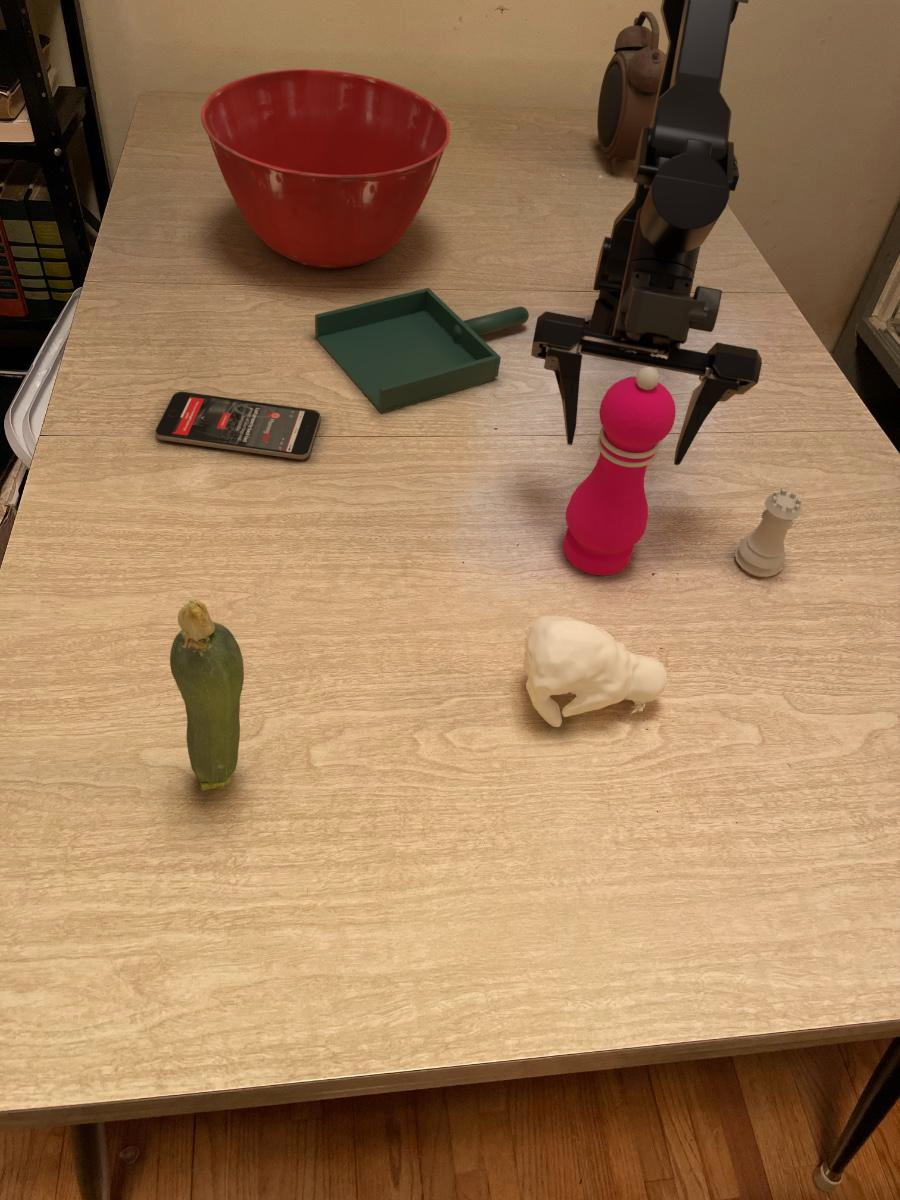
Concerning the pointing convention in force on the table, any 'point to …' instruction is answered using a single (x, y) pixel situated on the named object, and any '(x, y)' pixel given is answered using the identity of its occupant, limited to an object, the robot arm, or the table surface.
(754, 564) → the rook chess piece
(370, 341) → the scoop
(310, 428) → the smartphone
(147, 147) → the table surface
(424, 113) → the mixing bowl
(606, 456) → the pepper mill
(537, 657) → the cream lumpy piece
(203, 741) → the vegetable
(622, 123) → the alarm clock
